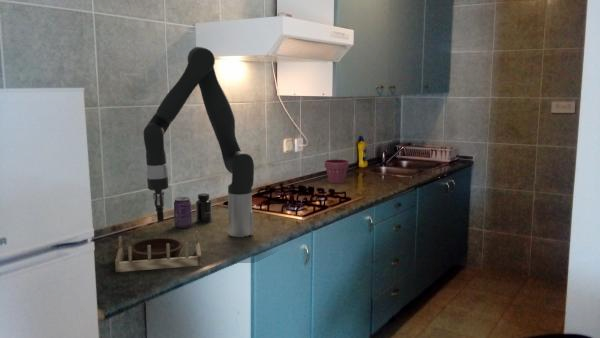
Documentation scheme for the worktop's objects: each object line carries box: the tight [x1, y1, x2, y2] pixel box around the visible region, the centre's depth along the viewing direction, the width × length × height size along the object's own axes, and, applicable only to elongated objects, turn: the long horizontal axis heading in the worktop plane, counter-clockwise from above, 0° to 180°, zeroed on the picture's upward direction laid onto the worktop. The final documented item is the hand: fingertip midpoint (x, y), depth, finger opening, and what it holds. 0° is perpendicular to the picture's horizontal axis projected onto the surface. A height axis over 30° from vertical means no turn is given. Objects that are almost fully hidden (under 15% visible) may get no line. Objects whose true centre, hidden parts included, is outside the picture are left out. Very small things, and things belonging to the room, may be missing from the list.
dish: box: [130, 237, 184, 261], centre depth 184 cm, size 18×22×5 cm
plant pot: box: [324, 158, 350, 184], centre depth 313 cm, size 14×14×13 cm
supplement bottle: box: [195, 192, 213, 224], centre depth 229 cm, size 7×7×12 cm
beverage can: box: [173, 196, 193, 229], centre depth 221 cm, size 7×7×12 cm
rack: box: [114, 230, 203, 273], centre depth 181 cm, size 27×15×8 cm, turn 104°
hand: (160, 220), depth 200 cm, fingers closed
